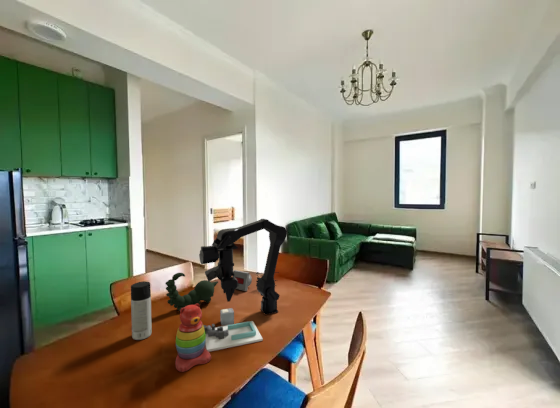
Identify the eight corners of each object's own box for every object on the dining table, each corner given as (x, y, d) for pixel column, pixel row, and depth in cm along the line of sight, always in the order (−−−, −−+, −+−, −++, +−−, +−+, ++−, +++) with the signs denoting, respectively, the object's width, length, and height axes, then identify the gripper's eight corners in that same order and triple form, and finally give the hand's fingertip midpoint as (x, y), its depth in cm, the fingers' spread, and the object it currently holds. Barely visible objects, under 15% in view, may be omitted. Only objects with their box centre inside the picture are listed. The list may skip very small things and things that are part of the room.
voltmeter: (230, 292, 143) (230, 274, 143) (231, 285, 155) (231, 268, 154) (279, 290, 147) (279, 273, 146) (277, 283, 158) (277, 267, 157)
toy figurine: (174, 321, 116) (224, 300, 132) (169, 279, 113) (221, 263, 130) (166, 313, 122) (215, 294, 139) (161, 274, 120) (211, 259, 137)
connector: (232, 319, 114) (232, 307, 114) (234, 323, 110) (233, 311, 110) (220, 321, 112) (220, 309, 112) (221, 326, 109) (221, 313, 108)
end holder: (250, 324, 108) (250, 321, 108) (256, 335, 100) (256, 331, 100) (227, 328, 105) (227, 325, 105) (231, 340, 97) (231, 336, 97)
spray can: (155, 332, 103) (154, 282, 102) (141, 342, 97) (140, 288, 95) (142, 329, 105) (141, 280, 104) (127, 338, 99) (126, 285, 98)
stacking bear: (178, 374, 80) (177, 316, 79) (170, 357, 88) (169, 304, 87) (213, 360, 86) (212, 307, 85) (202, 345, 95) (201, 296, 94)
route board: (252, 322, 111) (252, 315, 111) (262, 340, 98) (262, 332, 98) (203, 331, 104) (203, 323, 104) (206, 352, 91) (206, 343, 91)
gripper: (204, 256, 116) (204, 291, 117) (208, 268, 98) (209, 309, 99) (229, 254, 120) (230, 288, 121) (238, 265, 102) (238, 305, 103)
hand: (226, 297), depth 111 cm, fingers open, 9 cm apart
